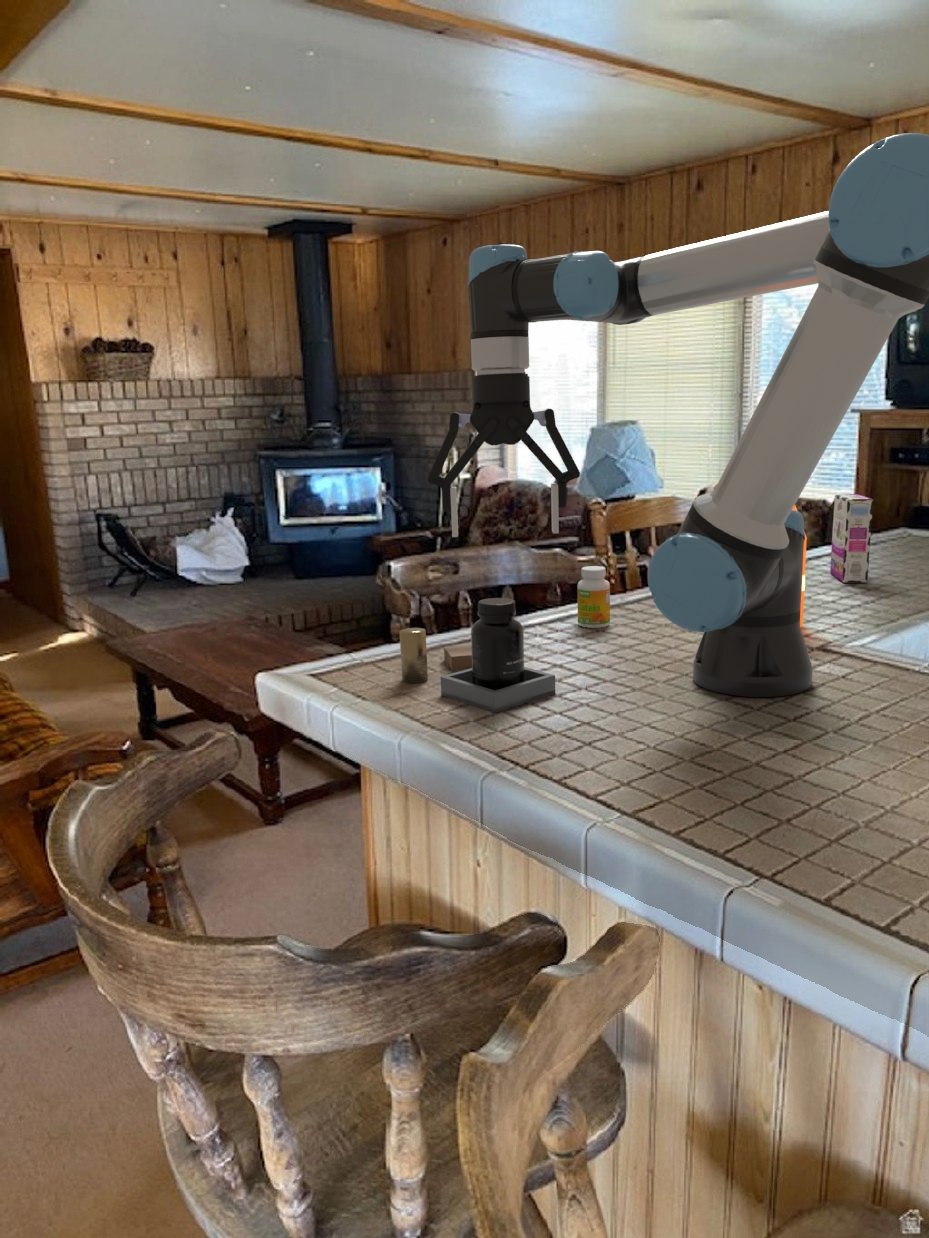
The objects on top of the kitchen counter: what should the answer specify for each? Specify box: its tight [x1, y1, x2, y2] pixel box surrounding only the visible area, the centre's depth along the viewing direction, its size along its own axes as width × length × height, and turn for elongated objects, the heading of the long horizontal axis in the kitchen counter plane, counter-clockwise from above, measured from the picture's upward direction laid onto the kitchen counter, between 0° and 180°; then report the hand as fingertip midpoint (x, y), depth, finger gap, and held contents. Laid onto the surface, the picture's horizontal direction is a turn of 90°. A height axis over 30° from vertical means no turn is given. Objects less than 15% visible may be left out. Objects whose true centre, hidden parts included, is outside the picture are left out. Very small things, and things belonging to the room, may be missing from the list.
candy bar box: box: [829, 493, 874, 584], centre depth 187 cm, size 11×5×16 cm, turn 172°
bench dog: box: [399, 627, 429, 684], centre depth 132 cm, size 4×4×7 cm
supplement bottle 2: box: [576, 565, 611, 629], centre depth 159 cm, size 5×5×10 cm
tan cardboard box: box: [443, 643, 472, 672], centre depth 139 cm, size 6×9×2 cm, turn 102°
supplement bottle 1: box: [470, 597, 525, 690], centre depth 123 cm, size 7×7×12 cm
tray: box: [440, 666, 556, 713], centre depth 124 cm, size 11×11×2 cm
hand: (505, 534), depth 129 cm, fingers open, 13 cm apart
